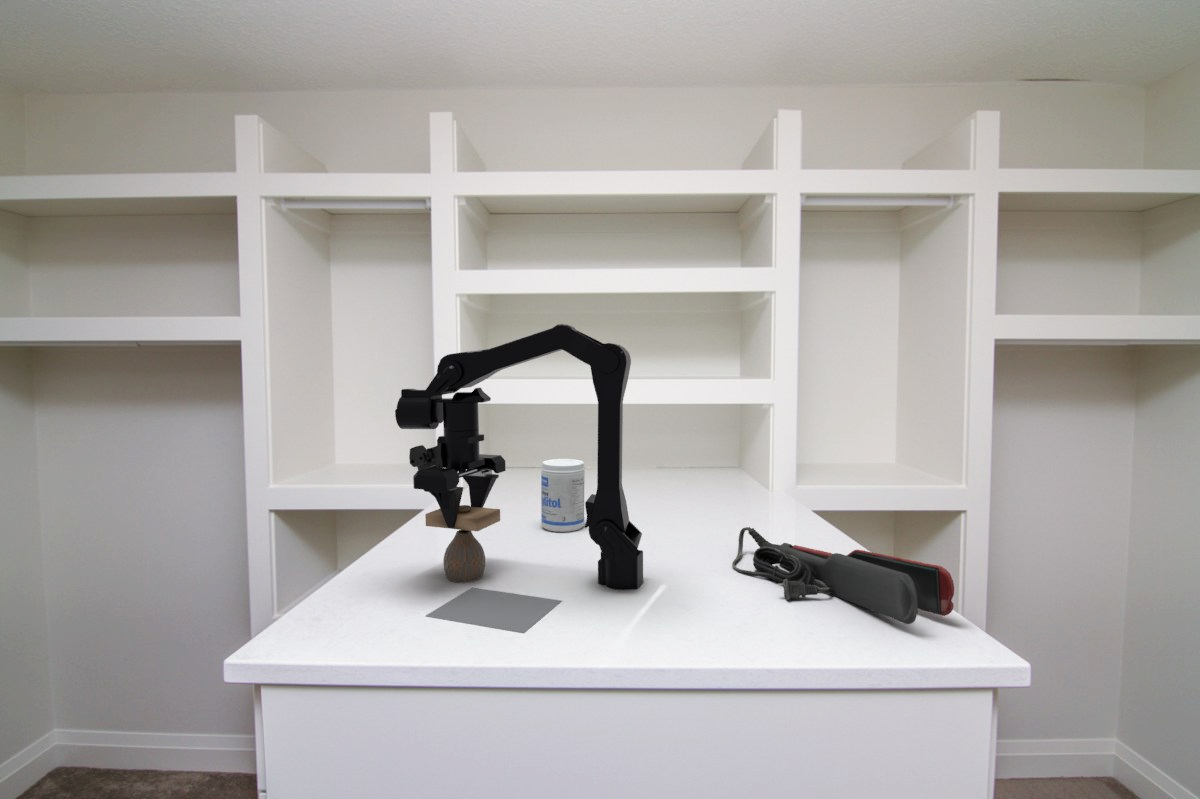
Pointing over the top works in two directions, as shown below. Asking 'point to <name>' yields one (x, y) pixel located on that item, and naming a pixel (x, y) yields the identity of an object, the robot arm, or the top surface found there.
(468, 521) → the lid
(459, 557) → the vase
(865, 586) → the hair straightener
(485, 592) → the mat
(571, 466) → the supplement tub
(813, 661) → the top surface
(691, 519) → the top surface
